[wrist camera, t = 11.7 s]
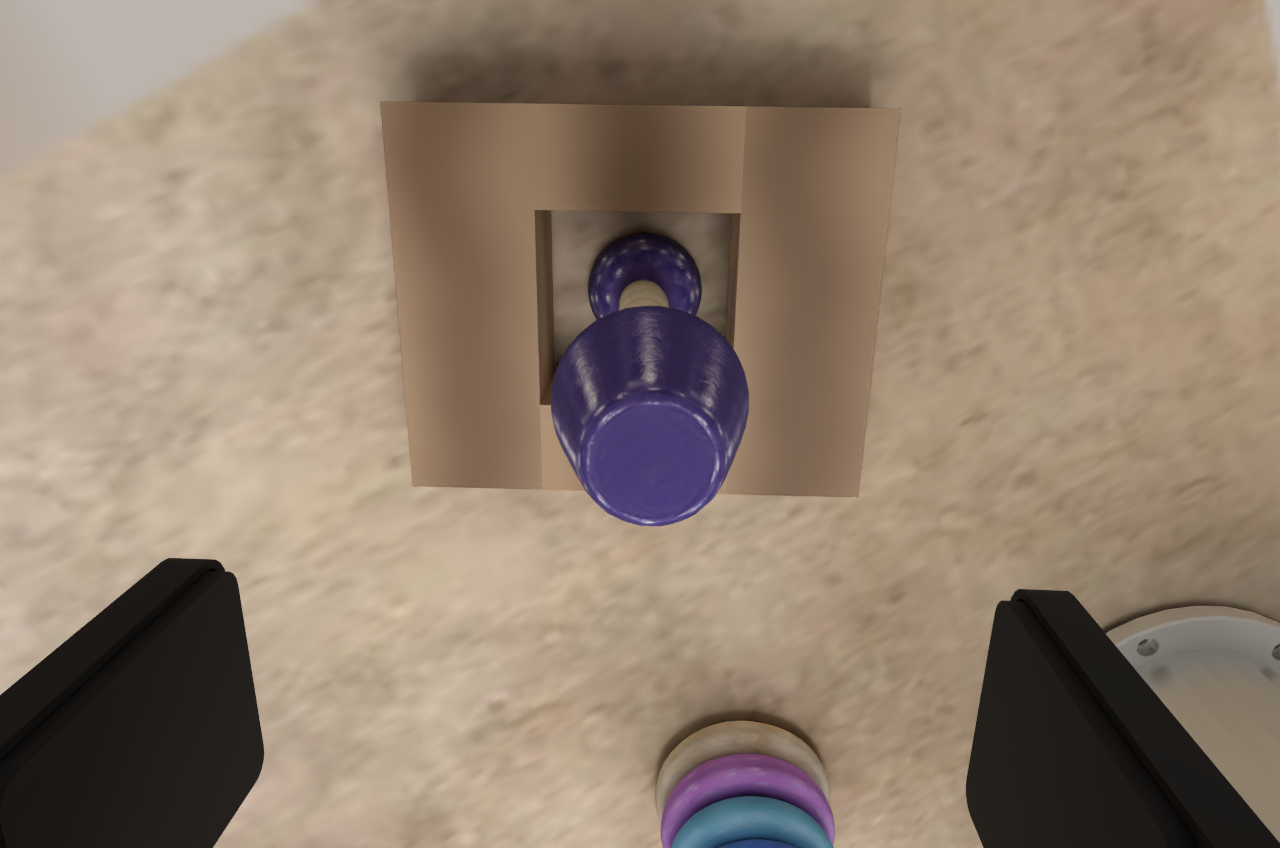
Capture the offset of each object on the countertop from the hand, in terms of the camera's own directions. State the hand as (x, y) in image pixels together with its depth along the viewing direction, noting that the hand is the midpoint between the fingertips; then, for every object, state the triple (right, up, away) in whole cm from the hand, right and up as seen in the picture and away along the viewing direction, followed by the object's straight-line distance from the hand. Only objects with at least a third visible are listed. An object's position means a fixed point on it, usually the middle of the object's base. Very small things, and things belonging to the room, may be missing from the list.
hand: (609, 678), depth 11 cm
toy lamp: (+1, +8, +22) cm, 23 cm away
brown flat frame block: (0, +8, +22) cm, 23 cm away
